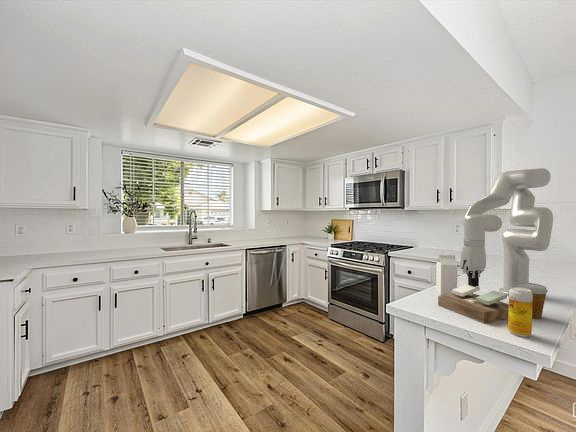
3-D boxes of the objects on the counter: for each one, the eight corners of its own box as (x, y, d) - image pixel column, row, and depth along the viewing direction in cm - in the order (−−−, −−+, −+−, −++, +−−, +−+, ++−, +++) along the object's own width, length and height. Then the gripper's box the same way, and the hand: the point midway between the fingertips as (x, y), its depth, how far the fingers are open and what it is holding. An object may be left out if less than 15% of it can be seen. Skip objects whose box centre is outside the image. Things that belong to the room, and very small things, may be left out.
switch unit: (468, 300, 128) (469, 290, 128) (517, 317, 109) (517, 304, 109) (438, 305, 122) (438, 294, 122) (483, 323, 103) (484, 310, 103)
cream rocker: (469, 289, 126) (468, 283, 126) (480, 292, 121) (479, 286, 121) (452, 295, 123) (451, 289, 123) (462, 298, 118) (462, 293, 118)
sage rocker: (494, 296, 116) (493, 290, 115) (507, 300, 111) (506, 294, 111) (476, 303, 112) (476, 297, 112) (489, 307, 108) (488, 301, 107)
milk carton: (457, 296, 134) (457, 256, 133) (440, 295, 136) (441, 256, 135) (451, 292, 141) (452, 254, 140) (436, 291, 142) (436, 253, 142)
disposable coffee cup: (515, 309, 117) (515, 280, 117) (546, 315, 111) (547, 284, 111) (514, 316, 110) (515, 285, 110) (547, 322, 104) (548, 290, 104)
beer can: (503, 330, 98) (504, 286, 97) (519, 329, 98) (521, 286, 98) (519, 338, 92) (520, 292, 91) (536, 337, 92) (537, 291, 92)
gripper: (478, 242, 129) (477, 282, 129) (453, 243, 124) (452, 285, 124) (495, 244, 122) (494, 286, 122) (469, 245, 117) (468, 290, 117)
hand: (473, 286), depth 123 cm, fingers closed
